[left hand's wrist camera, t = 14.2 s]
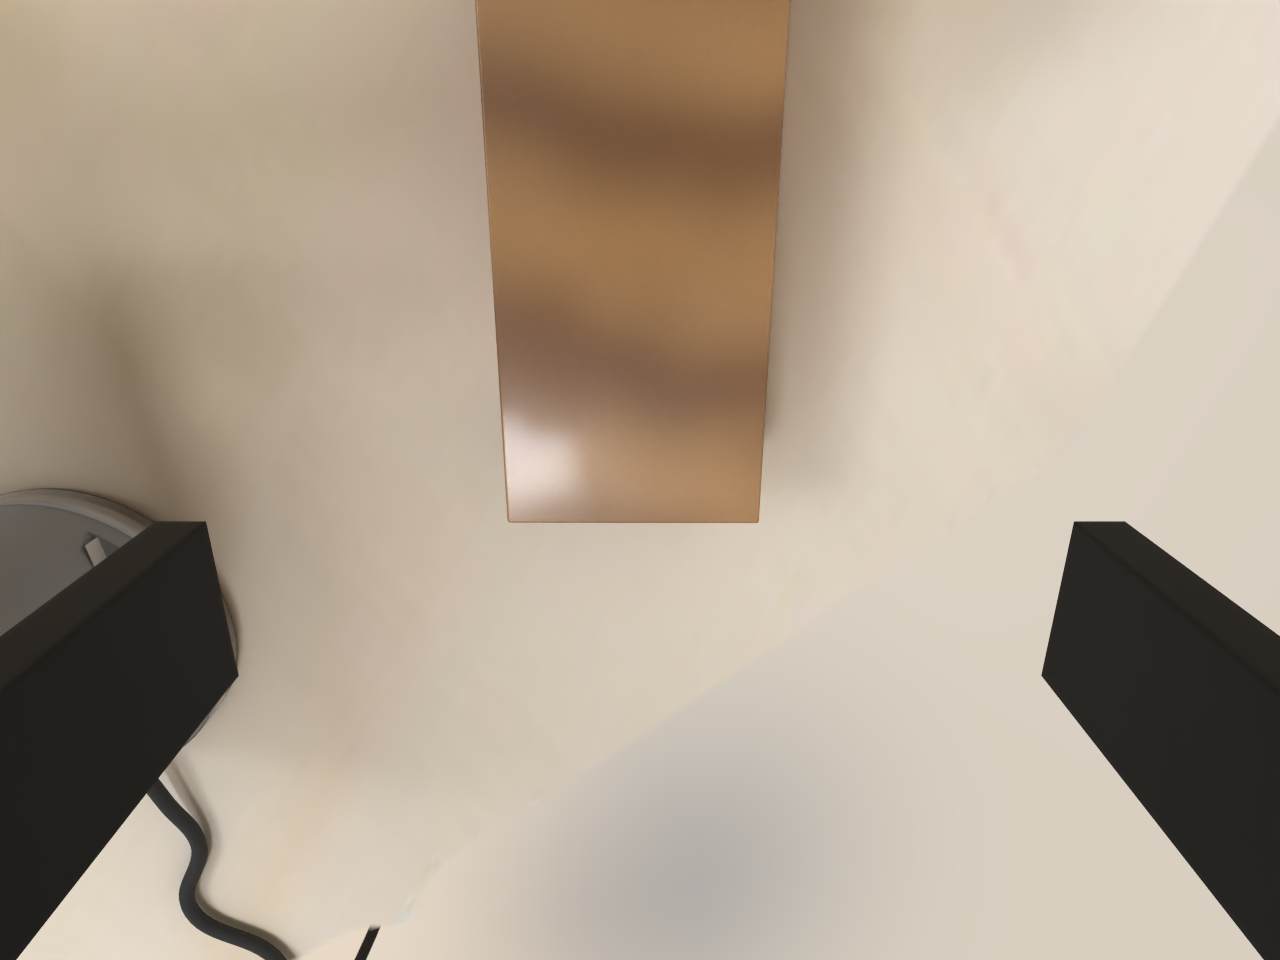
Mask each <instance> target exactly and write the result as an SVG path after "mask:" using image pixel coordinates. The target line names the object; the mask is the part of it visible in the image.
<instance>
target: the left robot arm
mask: <svg viewBox="0 0 1280 960" xmlns="http://www.w3.org/2000/svg"><path fill="white" fill-rule="evenodd" d="M236 654H237V652H236V637H235V631H234V626H233V622H232V618H231V615H230V612H229V610H228V607H227V604H226V602H225V600H224V598H223V596H222V594H221V591H220V586H219V581H218V576H217V572H216V567H215V562H214V558H213V553H212V548H211V543H210V539H209V534H208V529H207V525H206V522H153V521H151V520H149V519H147V518H146V517H144V516H142V515H141V514H139V513H137V512H135V511H133V510H131V509H128V508H126V507H124V506H122V505H119V504H117V503H114V502H112V501H109V500H106V499H103V498H99V497H96V496H93V495H88V494H84V493H79V492H74V491H66V490H57V489H31V490H22V491H15V492H10V493H6V494H2V495H0V960H16V959H17V958H18V957H19V955H20V954H21V953H22V952H23V950H24V949H25V948H26V946H27V945H28V944H29V943H30V941H31V940H32V939H33V938H34V936H35V935H36V934H37V932H38V931H39V930H40V929H41V927H42V926H43V925H44V923H45V922H46V921H47V920H48V918H49V917H50V916H51V915H52V913H53V912H54V911H55V909H56V908H57V907H58V906H59V904H60V903H61V902H62V900H63V899H64V898H65V897H66V895H67V894H68V893H69V892H70V890H71V889H72V888H73V886H74V885H75V884H76V883H77V881H78V880H79V879H80V877H81V876H82V875H83V874H84V872H85V871H86V870H87V869H88V867H89V866H90V865H91V863H92V862H93V861H94V860H95V858H96V857H97V856H98V855H99V853H100V852H101V851H102V849H103V848H104V847H105V846H106V844H107V843H108V842H109V840H110V839H111V838H112V837H113V835H114V834H115V833H116V832H117V830H118V829H119V828H120V826H121V825H122V824H123V823H124V821H125V820H126V819H127V817H128V816H129V815H130V814H131V812H132V811H133V810H134V809H135V807H136V806H137V805H138V803H139V802H140V801H141V800H142V798H143V797H144V796H145V794H146V793H147V794H148V796H149V797H150V798H151V799H152V801H153V802H154V803H155V804H156V806H157V807H158V808H159V809H160V811H161V812H162V813H163V814H164V815H165V816H166V817H167V818H168V819H169V820H170V821H171V822H172V823H173V824H174V825H175V826H176V827H177V828H178V829H179V830H180V831H181V832H182V833H183V834H184V835H185V837H186V838H187V840H188V841H189V843H190V846H191V850H192V855H191V860H190V863H189V866H188V869H187V871H186V873H185V875H184V878H183V880H182V883H181V886H180V890H179V901H180V905H181V909H182V911H183V913H184V915H185V917H186V918H187V919H188V920H189V921H190V923H191V924H193V925H194V926H195V927H196V928H197V929H199V930H200V931H202V932H203V933H205V934H207V935H209V936H211V937H214V938H216V939H219V940H221V941H224V942H227V943H230V944H233V945H236V946H239V947H241V948H244V949H246V950H249V951H251V952H253V953H255V954H257V955H259V956H260V957H262V958H263V959H265V960H287V959H286V958H285V957H284V955H283V954H282V953H281V952H280V951H279V950H278V949H277V948H276V947H275V946H274V945H272V944H271V943H269V942H268V941H266V940H264V939H262V938H260V937H258V936H255V935H253V934H251V933H248V932H245V931H242V930H240V929H237V928H234V927H231V926H228V925H226V924H223V923H221V922H219V921H217V920H215V919H213V918H211V917H210V916H208V915H207V914H206V913H205V912H204V911H203V910H202V909H201V908H200V907H199V906H198V904H197V902H196V900H195V887H196V884H197V882H198V879H199V877H200V875H201V873H202V870H203V868H204V865H205V863H206V859H207V843H206V839H205V836H204V833H203V831H202V829H201V828H200V826H199V825H198V824H197V822H196V821H195V820H194V819H193V818H192V817H191V816H190V815H189V814H188V813H187V812H186V811H185V810H184V809H183V808H182V807H181V806H180V805H179V804H178V803H177V802H176V800H175V799H174V798H173V797H172V796H171V794H170V793H169V792H168V790H167V789H166V788H165V786H164V785H163V784H162V783H161V781H160V780H159V779H158V778H159V777H160V775H161V774H162V773H163V771H164V770H165V769H166V768H167V766H168V765H169V764H170V763H171V761H172V760H173V759H174V757H175V756H176V755H177V754H178V752H179V751H180V750H181V748H182V747H183V746H185V745H186V744H187V743H188V742H189V741H190V740H192V739H193V738H194V737H195V736H196V734H197V733H198V732H199V731H200V730H201V729H202V728H203V726H204V725H205V724H206V722H207V721H208V720H209V718H210V717H211V716H212V715H213V713H214V712H215V711H216V709H217V708H218V707H219V705H220V704H221V702H222V701H223V699H224V698H225V696H226V694H227V692H228V690H229V687H230V686H231V685H232V683H233V682H234V681H235V679H236V678H237V677H238V676H239V675H238V671H237V666H236ZM1042 677H1043V678H1044V679H1045V681H1046V682H1047V683H1048V685H1049V686H1050V687H1051V688H1052V690H1053V691H1054V692H1055V694H1056V695H1057V696H1058V697H1059V699H1060V700H1061V701H1062V702H1063V704H1064V705H1065V706H1066V708H1067V709H1068V710H1069V711H1070V713H1071V714H1072V715H1073V716H1074V718H1075V719H1076V720H1077V722H1078V723H1079V724H1080V725H1081V727H1082V728H1083V729H1084V731H1085V732H1086V733H1087V734H1088V736H1089V737H1090V738H1091V740H1092V741H1093V742H1094V743H1095V745H1096V746H1097V747H1098V748H1099V750H1100V751H1101V752H1102V753H1103V755H1104V756H1105V757H1106V759H1107V760H1108V761H1109V762H1110V764H1111V765H1112V766H1113V768H1114V769H1115V770H1116V771H1117V773H1118V774H1119V775H1120V777H1121V778H1122V779H1123V780H1124V782H1125V783H1126V784H1127V785H1128V787H1129V788H1130V789H1131V791H1132V792H1133V793H1134V794H1135V796H1136V797H1137V798H1138V800H1139V801H1140V802H1141V803H1142V805H1143V806H1144V807H1145V809H1146V810H1147V811H1148V812H1149V814H1150V815H1151V816H1152V817H1153V819H1154V820H1155V821H1156V822H1157V824H1158V825H1159V826H1160V828H1161V829H1162V830H1163V832H1164V833H1165V834H1166V835H1167V837H1168V838H1169V839H1170V840H1171V842H1172V843H1173V844H1174V846H1175V847H1176V848H1177V849H1178V851H1179V852H1180V853H1181V854H1182V856H1183V857H1184V858H1185V860H1186V861H1187V862H1188V863H1189V865H1190V866H1191V867H1192V869H1193V870H1194V871H1195V872H1196V874H1197V875H1198V876H1199V877H1200V879H1201V880H1202V881H1203V883H1204V884H1205V885H1206V886H1207V888H1208V889H1209V890H1210V892H1211V893H1212V894H1213V895H1214V897H1215V898H1216V899H1217V900H1218V902H1219V903H1220V904H1221V906H1222V907H1223V908H1224V909H1225V911H1226V912H1227V913H1228V914H1229V916H1230V917H1231V918H1232V920H1233V921H1234V922H1235V924H1236V925H1237V926H1238V927H1239V929H1240V930H1241V931H1242V932H1243V934H1244V935H1245V936H1246V937H1247V939H1248V940H1249V941H1250V943H1251V944H1252V945H1253V946H1254V948H1255V949H1256V950H1257V952H1258V953H1259V954H1260V955H1261V957H1262V958H1263V959H1264V960H1280V636H1279V635H1277V634H1276V633H1275V632H1273V631H1272V630H1271V629H1269V628H1268V627H1267V626H1265V625H1264V624H1263V623H1261V622H1260V621H1258V620H1257V619H1256V618H1254V617H1253V616H1252V615H1250V614H1249V613H1248V612H1246V611H1245V610H1244V609H1242V608H1241V607H1240V606H1238V605H1237V604H1235V603H1234V602H1233V601H1231V600H1230V599H1229V598H1227V597H1226V596H1225V595H1223V594H1222V593H1221V592H1219V591H1218V590H1217V589H1215V588H1214V587H1213V586H1211V585H1210V584H1208V583H1207V582H1206V581H1204V580H1203V579H1202V578H1200V577H1199V576H1198V575H1196V574H1195V573H1194V572H1192V571H1191V570H1190V569H1188V568H1187V567H1186V566H1184V565H1183V564H1181V563H1180V562H1179V561H1177V560H1176V559H1175V558H1173V557H1172V556H1171V555H1169V554H1168V553H1167V552H1165V551H1164V550H1163V549H1161V548H1160V547H1158V546H1157V545H1156V544H1154V543H1153V542H1152V541H1150V540H1149V539H1148V538H1146V537H1145V536H1144V535H1142V534H1141V533H1140V532H1138V531H1137V530H1136V529H1134V528H1133V527H1131V526H1130V525H1129V524H1127V523H1126V522H1074V525H1073V529H1072V534H1071V539H1070V543H1069V548H1068V553H1067V558H1066V562H1065V567H1064V572H1063V576H1062V581H1061V586H1060V591H1059V595H1058V600H1057V605H1056V609H1055V614H1054V619H1053V624H1052V628H1051V633H1050V638H1049V642H1048V647H1047V652H1046V657H1045V661H1044V666H1043V671H1042ZM380 927H381V926H380ZM380 927H369V929H368V931H367V933H366V936H365V938H364V940H363V942H362V944H361V947H360V949H359V951H358V953H357V955H356V957H355V959H354V960H366V959H367V957H368V955H369V952H370V950H371V948H372V946H373V943H374V941H375V939H376V937H377V934H378V932H379V929H380Z"/></svg>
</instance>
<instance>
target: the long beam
mask: <svg viewBox="0 0 1280 960" xmlns="http://www.w3.org/2000/svg"><path fill="white" fill-rule="evenodd" d="M475 5H476V21H477V37H478V53H479V69H480V85H481V101H482V117H483V133H484V149H485V165H486V181H487V197H488V213H489V229H490V245H491V261H492V277H493V293H494V309H495V325H496V341H497V357H498V373H499V389H500V405H501V421H502V436H503V452H504V468H505V484H506V500H507V516H508V522H559V523H758V521H759V507H760V491H761V474H762V458H763V441H764V425H765V408H766V391H767V375H768V358H769V342H770V325H771V308H772V292H773V275H774V259H775V242H776V226H777V209H778V192H779V176H780V159H781V143H782V126H783V109H784V93H785V76H786V60H787V43H788V26H789V10H790V0H475Z"/></svg>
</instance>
